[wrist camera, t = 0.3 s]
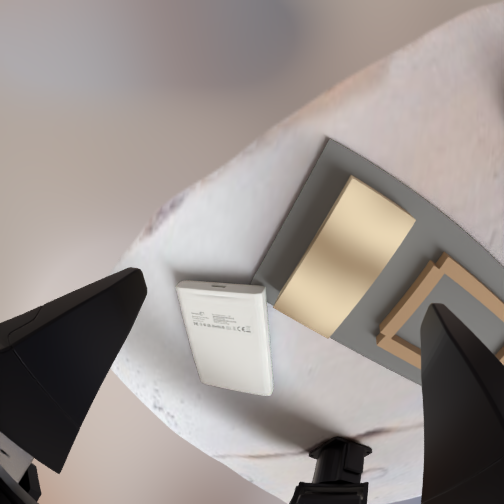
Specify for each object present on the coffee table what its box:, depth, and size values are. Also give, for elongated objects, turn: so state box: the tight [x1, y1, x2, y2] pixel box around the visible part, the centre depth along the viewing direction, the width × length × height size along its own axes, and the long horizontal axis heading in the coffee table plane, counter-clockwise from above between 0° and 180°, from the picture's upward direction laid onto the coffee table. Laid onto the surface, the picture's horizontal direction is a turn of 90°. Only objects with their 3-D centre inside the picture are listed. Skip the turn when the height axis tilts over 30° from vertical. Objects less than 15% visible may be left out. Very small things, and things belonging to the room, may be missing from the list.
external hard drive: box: [176, 280, 274, 396], centre depth 27 cm, size 2×8×12 cm
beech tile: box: [273, 175, 416, 338], centre depth 20 cm, size 11×5×2 cm, turn 154°
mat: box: [250, 139, 504, 386], centre depth 20 cm, size 14×28×2 cm, turn 64°
